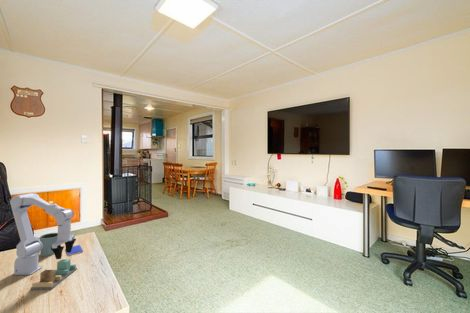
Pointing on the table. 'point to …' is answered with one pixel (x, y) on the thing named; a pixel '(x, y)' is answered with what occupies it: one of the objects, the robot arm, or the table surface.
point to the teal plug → (63, 264)
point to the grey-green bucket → (48, 243)
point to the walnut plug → (47, 276)
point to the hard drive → (75, 250)
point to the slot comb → (59, 277)
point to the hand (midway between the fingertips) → (63, 255)
